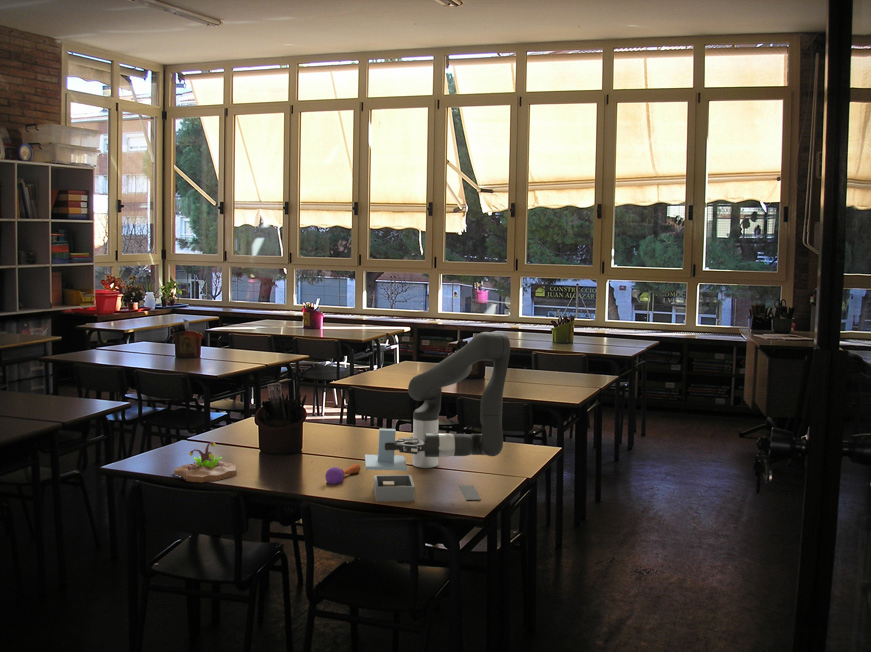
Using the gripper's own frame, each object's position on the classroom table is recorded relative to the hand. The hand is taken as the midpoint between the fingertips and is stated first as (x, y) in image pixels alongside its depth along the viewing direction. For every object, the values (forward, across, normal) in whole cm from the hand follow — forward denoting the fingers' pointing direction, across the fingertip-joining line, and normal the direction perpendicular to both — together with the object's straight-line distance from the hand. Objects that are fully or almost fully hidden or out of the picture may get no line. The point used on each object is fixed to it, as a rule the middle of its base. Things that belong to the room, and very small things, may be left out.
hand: (384, 445), depth 252 cm
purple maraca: (+13, -21, +17) cm, 30 cm away
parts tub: (-3, 0, +16) cm, 17 cm away
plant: (+59, -30, +18) cm, 69 cm away
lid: (0, 0, +6) cm, 6 cm away
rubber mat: (-23, -2, +16) cm, 28 cm away
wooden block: (-2, -3, +16) cm, 16 cm away
